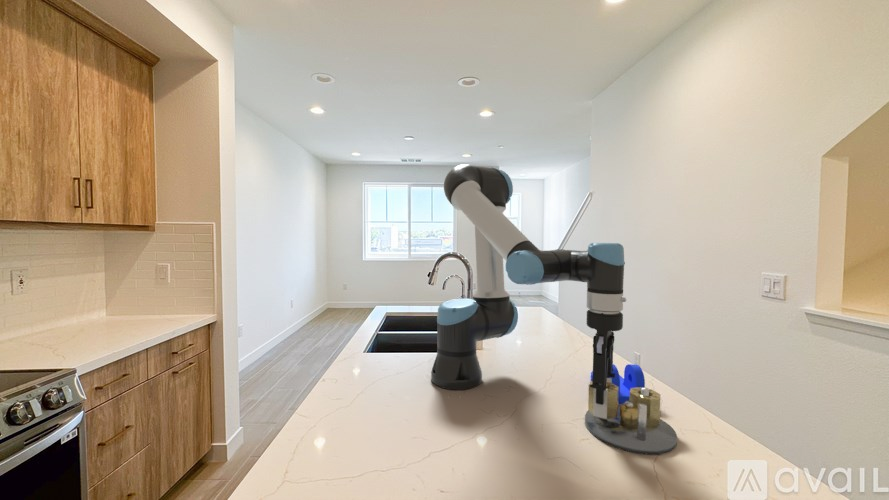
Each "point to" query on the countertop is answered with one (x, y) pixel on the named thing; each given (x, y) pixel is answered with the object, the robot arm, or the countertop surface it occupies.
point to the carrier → (635, 425)
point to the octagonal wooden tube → (611, 400)
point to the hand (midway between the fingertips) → (602, 410)
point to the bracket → (627, 380)
